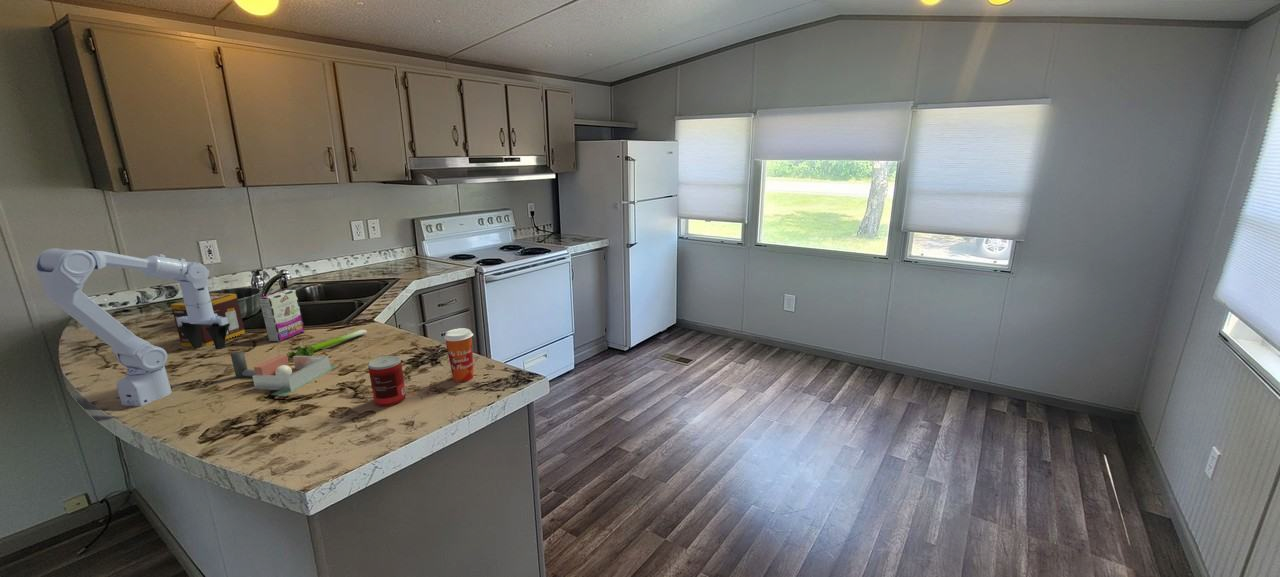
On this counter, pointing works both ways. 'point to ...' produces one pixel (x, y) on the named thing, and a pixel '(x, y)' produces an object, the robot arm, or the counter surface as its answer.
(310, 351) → the leek
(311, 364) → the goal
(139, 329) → the counter surface
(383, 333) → the counter surface
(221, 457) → the counter surface
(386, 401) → the canned food
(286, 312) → the candy bar box
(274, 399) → the counter surface
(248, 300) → the bundt pan
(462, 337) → the paper cup
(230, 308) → the supplement box
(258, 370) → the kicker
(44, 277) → the robot arm
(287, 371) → the ball
